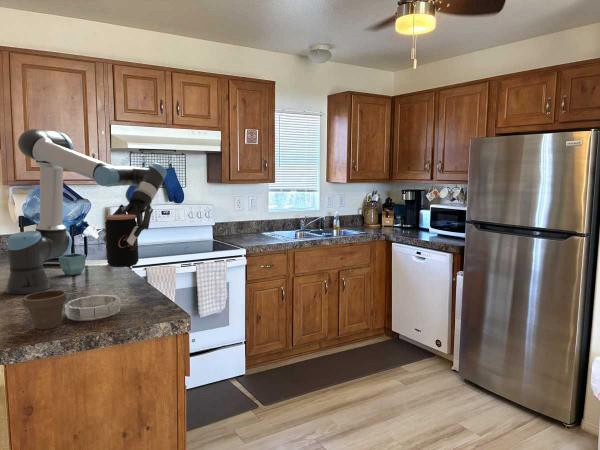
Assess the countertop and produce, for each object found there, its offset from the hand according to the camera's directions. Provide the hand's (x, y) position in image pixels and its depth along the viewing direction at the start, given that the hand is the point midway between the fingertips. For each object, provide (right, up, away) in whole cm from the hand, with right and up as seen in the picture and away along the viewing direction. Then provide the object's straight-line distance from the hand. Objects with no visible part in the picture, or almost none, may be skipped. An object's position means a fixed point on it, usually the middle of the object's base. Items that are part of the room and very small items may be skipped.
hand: (116, 242), depth 166 cm
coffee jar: (+1, -8, +4) cm, 9 cm away
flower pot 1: (-12, -25, -24) cm, 37 cm away
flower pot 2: (-41, -17, +51) cm, 68 cm away
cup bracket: (-3, -23, -11) cm, 26 cm away
